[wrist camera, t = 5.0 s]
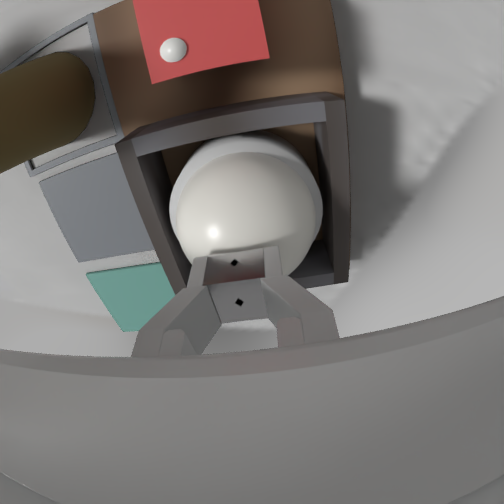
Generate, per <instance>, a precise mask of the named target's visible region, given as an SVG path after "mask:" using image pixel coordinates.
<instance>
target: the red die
mask: <svg viewBox="0 0 504 504" xmlns="http://www.w3.org/2000/svg"><path fill="white" fill-rule="evenodd" d="M133 5H134V10H135V14H136V19H137V23H138V28H139V32H140V37H141V41H142V45H143V50H144V54H145V58H146V62H147V66H148V70H149V74H150V78H151V82H152V84H155V83H159V82H162V81H166V80H169V79H173V78H177V77H180V76H184V75H188V74H192V73H196V72H200V71H204V70H209V69H213V68H218V67H223V66H228V65H233V64H238V63H244V62H250V61H256V60H263V59H268V58H270V57H269V51H268V46H267V41H266V36H265V31H264V26H263V21H262V16H261V12H260V7H259V2H258V0H133Z"/></svg>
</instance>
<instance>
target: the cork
mask: <svg viewBox="0 0 504 504" xmlns="http://www.w3.org/2000/svg"><path fill="white" fill-rule="evenodd" d="M94 101H95V92H94V82H93V79H92V77H91V74H90V71H89V69H88V67H87V66H86V65H85V64H84V63H83V62H82V60H81V59H80V58H78V57H76V56H74V55H72V54H70V53H67V52H55V53H52V54H49V55H46V56H43V57H40V58H37V59H35V60H32V61H29V62H27V63H24V64H22V65H19V66H17V67H14V68H12V69H10V70H8V71H5V72H3V73H1V74H0V173H2V172H4V171H7V170H9V169H11V168H13V167H15V166H17V165H19V164H21V163H23V162H26V161H28V160H30V159H32V158H35V157H37V156H39V155H42V154H44V153H46V152H49V151H51V150H54V149H56V148H59V147H61V146H64V145H66V144H68V143H70V142H71V141H73V140H75V139H76V138H77V137H78V136H79V135H80V134H81V133H82V132H83V130H84V129H85V128H86V126H87V124H88V122H89V120H90V118H91V116H92V113H93V107H94Z"/></svg>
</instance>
